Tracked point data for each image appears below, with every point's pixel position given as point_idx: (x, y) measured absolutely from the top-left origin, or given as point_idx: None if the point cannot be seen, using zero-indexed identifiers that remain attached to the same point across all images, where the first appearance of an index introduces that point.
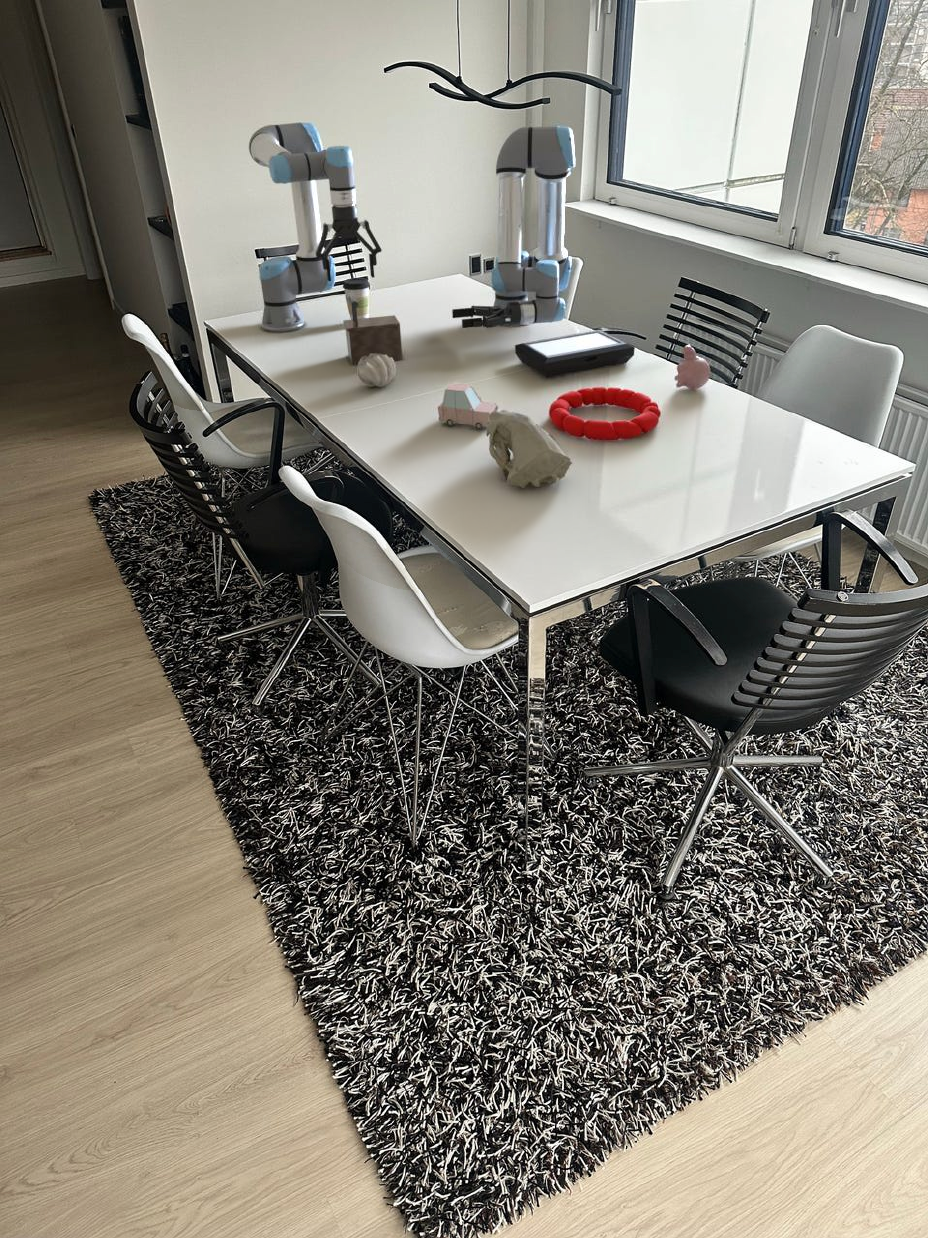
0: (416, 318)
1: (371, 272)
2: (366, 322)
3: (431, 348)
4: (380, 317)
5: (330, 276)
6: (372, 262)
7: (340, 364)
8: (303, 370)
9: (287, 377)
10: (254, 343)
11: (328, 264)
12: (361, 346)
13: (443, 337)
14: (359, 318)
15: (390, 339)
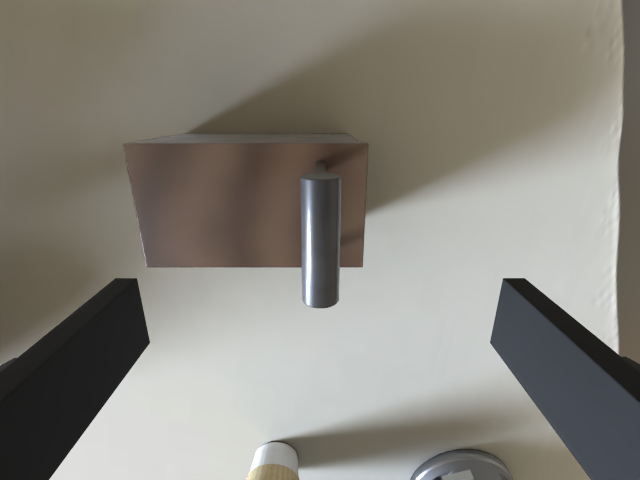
0: (132, 452)
1: (117, 308)
2: (272, 205)
3: (89, 212)
4: (207, 255)
5: (528, 296)
6: (20, 363)
7: (382, 153)
8: (504, 133)
9: (571, 78)
10: None
11: (628, 380)
12: (312, 137)
13: (55, 296)
14: (276, 457)
15: (196, 138)
